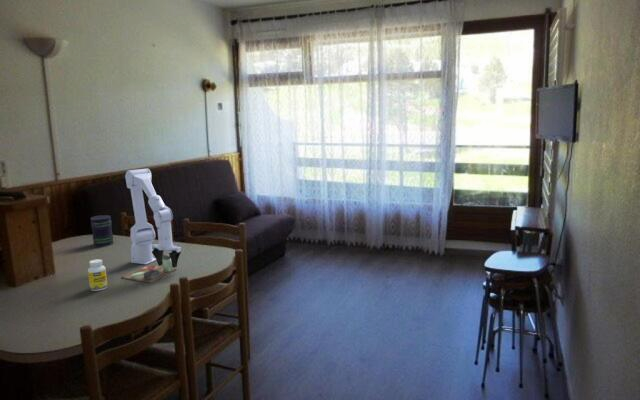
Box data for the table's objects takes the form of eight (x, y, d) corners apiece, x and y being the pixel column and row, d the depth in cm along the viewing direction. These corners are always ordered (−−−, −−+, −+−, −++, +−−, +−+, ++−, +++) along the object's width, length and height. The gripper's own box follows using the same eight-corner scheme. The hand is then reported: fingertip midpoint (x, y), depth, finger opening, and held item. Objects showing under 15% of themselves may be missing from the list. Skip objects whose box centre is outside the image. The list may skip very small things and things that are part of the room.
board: (121, 278, 200) (120, 271, 200) (148, 266, 215) (147, 259, 214) (151, 282, 194) (150, 275, 194) (176, 270, 209) (175, 263, 208)
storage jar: (108, 246, 246) (105, 219, 243) (90, 247, 246) (86, 219, 243) (116, 241, 256) (113, 214, 253) (99, 241, 256) (95, 215, 253)
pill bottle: (90, 292, 185) (86, 264, 183) (89, 287, 191) (86, 260, 189) (108, 289, 188) (105, 262, 186) (107, 284, 194) (104, 257, 192)
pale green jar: (161, 271, 206) (159, 256, 204) (167, 268, 209) (166, 253, 208) (168, 272, 204) (167, 257, 203) (174, 269, 208) (173, 254, 207)
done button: (145, 270, 198) (145, 267, 197) (150, 268, 200) (150, 264, 200) (151, 271, 196) (151, 268, 196) (156, 269, 199) (156, 265, 199)
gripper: (145, 237, 203) (148, 267, 205) (172, 240, 197) (175, 270, 200) (156, 233, 209) (159, 262, 212) (183, 235, 204) (185, 265, 206)
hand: (167, 266), depth 206 cm, fingers open, 7 cm apart
